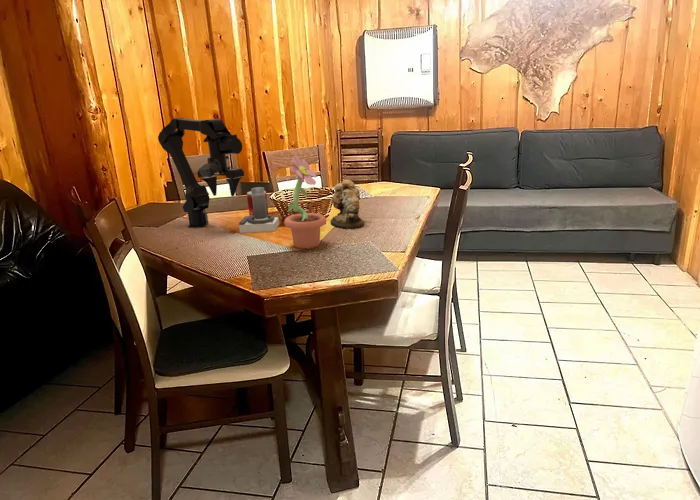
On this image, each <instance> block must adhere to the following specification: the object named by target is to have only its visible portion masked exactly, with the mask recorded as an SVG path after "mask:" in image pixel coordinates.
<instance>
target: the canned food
mask: <svg viewBox="0 0 700 500" xmlns="http://www.w3.org/2000/svg"><path fill="white" fill-rule="evenodd" d="M264 191H265V200H266V209H267V215H269V206H268V195H267V191H266V190H264ZM251 193H252V192H251V190H250V191H247V192H246V199H247V206H248V216H250V217H253V216H254V209H253V200H252V194H251Z"/></svg>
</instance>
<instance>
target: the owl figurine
mask: <svg viewBox="0 0 700 500" xmlns="http://www.w3.org/2000/svg"><path fill="white" fill-rule="evenodd" d="M360 200H361V195H360V190H359V188H358V187H357V186H356V185H355V183H354V181H352V180H350V179H344V180H342V182H339V183H337V184H336V185H334V193H333V196H332V202H331V203H332V205H333V208H334V209H337V210H338V211H339V212H338V213H336V215H334V216H332V218H331V219H330V225H331V226H332V227H334V228H337V229H341V228H342V229H341V230H347V229H348V230H353V229H355V228H356V229H360V228H362V227H364V226H365V222H364V220H363V219H362V218H361V217H359V213H360Z"/></svg>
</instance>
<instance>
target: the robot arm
mask: <svg viewBox="0 0 700 500" xmlns="http://www.w3.org/2000/svg"><path fill="white" fill-rule="evenodd" d="M186 131H193V132H194V131H195V132H199V133H201V135H205V136H206V137H205V138H204V139H203V143H207V145H208V151H209V152H208V153H209V157H207V162H206V163H205V164H203V165H202V166H201V167H199V168H198V171H197V172H196V173H197V178H200V179H201V181H204V182H205V183H206V184H207V186H208V188H209V190H210V191H211V194H212V196H213V197H214V196H217V189H218V188H217V185H218V184H217V182H218V181H217V180H218V178H217V176H222V177H223V176H224V177H226V178H225V181H227V183H228V185H229V192H230V196H231V197H235V195H236V191H237V189H238V185H239V183H240V180H241V179H243V177H245V171H244V169H243V168H240V167H239V168H230V166H228V161H227V160H229V159H230V157H229V155H239V154H241V152H242V150H243V143H242V141H241V139H240V138H238V134H231V132H230V131H229V129H228V127H227V125H225V123H224V122H223V120H222V119H221V118H211V119H203V120H202V119H201V120H200V119H192V118H184V117H175V118H172V119H171V120H170V122H168V124H166V126H164V127H163V128H162V129H161V131H160V132H159V133H158V137H157V140H158V142H159V144H160V146H161V148H162V150H164V151H165V153H167V154H169V155H170V157H171V159H172V161H173V163H174V165H175V167H176V170H177V172H178V174H179V176H180V178H181V181H182V183H183V185H184V188H185V194H184V197H185V202H184V204H183V205H182V210H183V212H184V213H187V217H188V223H189V225H187V227H188V228H196V227H198V228H199V227H200V228H201V227H205V226H207V224H209V217H208V216H209V215H208V213H207V211H206V209H209V206H210V205H209V204H210V200H211V198H210V192H208V190H207V187H206V185H200V183H199V182H198V180H197V178H196V176H195V174H194V171H193V170H192V168H191V166H190V163H189V161H188V158H187V157H186V155H185V152H184V151H183V148H184V147H183V146H184V141H183V140H184V139H183V137H184V136H185V134H186V133H185V132H186Z"/></svg>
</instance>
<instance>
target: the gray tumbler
mask: <svg viewBox="0 0 700 500" xmlns="http://www.w3.org/2000/svg"><path fill="white" fill-rule="evenodd" d="M250 191H251V192H252V193H251V194H252V200H253V209H254V217H255V218H254V220H266V219H268V217H267V209H266V200H265V191H266V190H265V187H263V186H262V187H261V186H257V187H252V188H251V190H250Z"/></svg>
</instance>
